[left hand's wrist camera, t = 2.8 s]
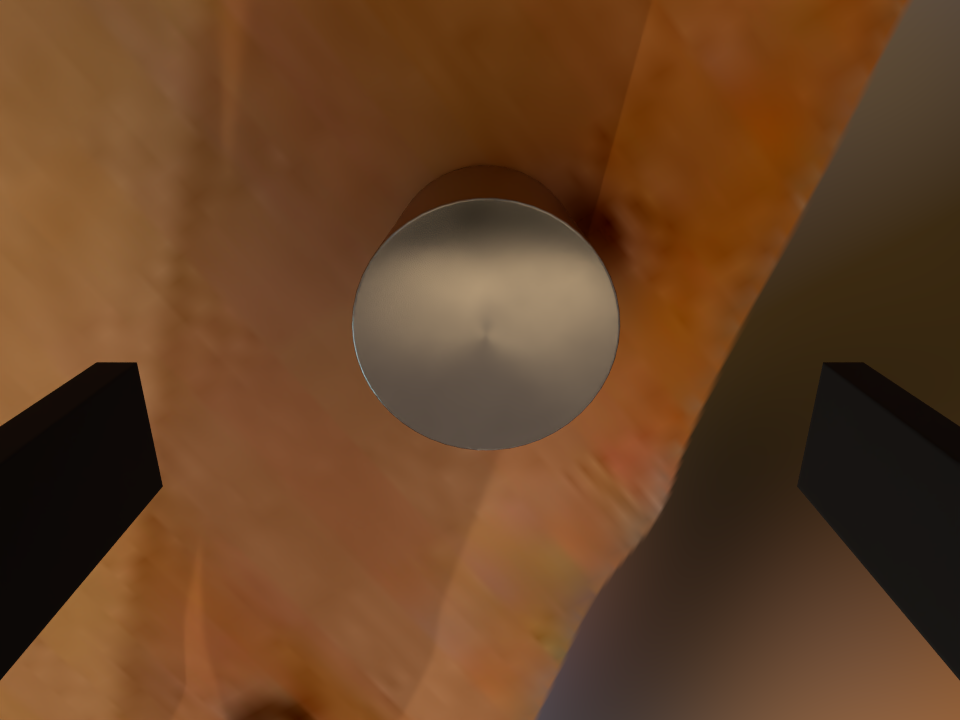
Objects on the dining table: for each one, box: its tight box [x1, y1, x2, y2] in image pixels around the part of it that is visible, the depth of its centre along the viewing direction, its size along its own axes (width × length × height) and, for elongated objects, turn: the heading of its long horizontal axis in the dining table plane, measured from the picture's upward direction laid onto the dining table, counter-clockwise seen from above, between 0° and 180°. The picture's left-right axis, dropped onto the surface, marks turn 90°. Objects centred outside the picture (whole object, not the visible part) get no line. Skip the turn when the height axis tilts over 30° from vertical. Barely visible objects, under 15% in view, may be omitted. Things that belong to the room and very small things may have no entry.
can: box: [352, 165, 620, 450], centre depth 20 cm, size 7×7×8 cm
